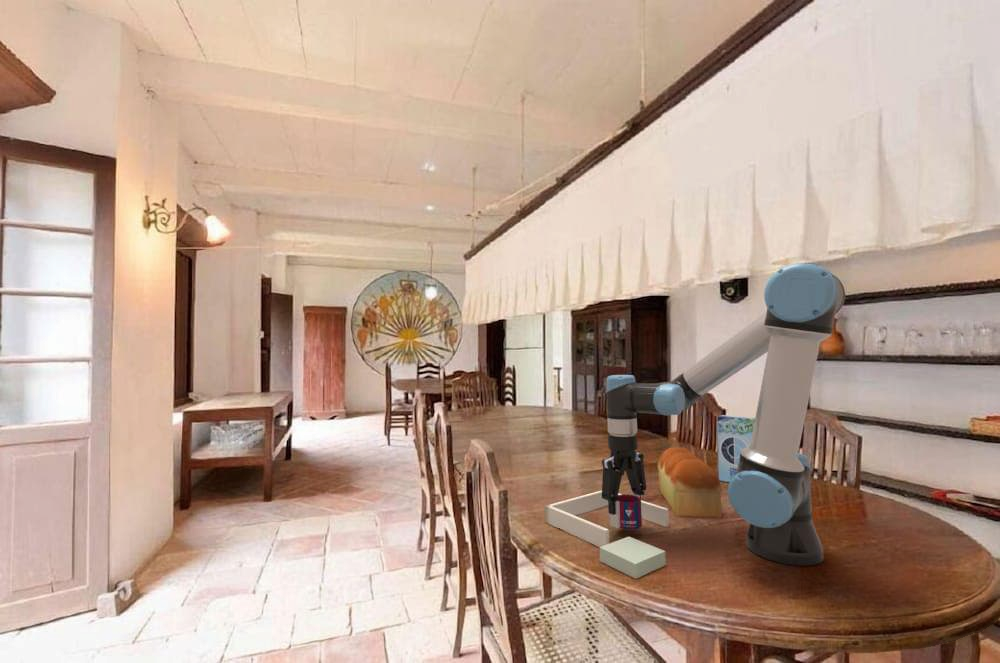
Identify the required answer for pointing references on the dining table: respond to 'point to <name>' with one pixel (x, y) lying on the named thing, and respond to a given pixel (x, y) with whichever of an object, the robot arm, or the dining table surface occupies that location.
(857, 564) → the dining table surface
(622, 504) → the mug
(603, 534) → the white u-shaped frame
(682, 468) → the bread
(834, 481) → the dining table surface
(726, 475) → the gum box
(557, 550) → the dining table surface
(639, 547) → the stand
